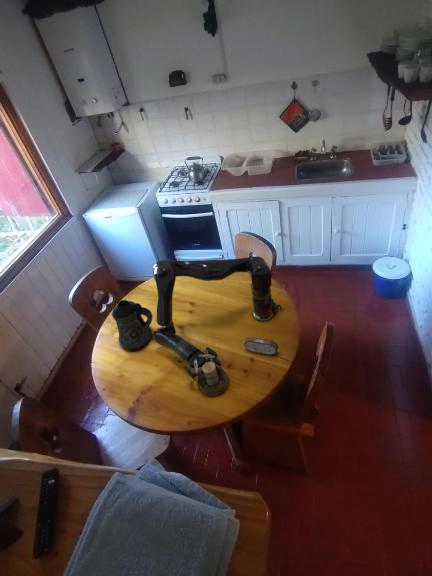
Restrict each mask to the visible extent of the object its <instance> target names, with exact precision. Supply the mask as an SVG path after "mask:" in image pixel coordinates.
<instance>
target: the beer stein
mask: <svg viewBox="0 0 432 576" xmlns="http://www.w3.org/2000/svg"><path fill="white" fill-rule="evenodd" d="M111 316H112V317H111V318H113V320H114V321H115V323H116V327H117V332H118V342H119V344H120V346H121V347H122V348H123V349H124V350H125V351H128V352H139V351H141V350H143V349H145V348H146V347H147V346H148V345H149V344H150V343H151V341H152V338H153V330H152V327H151V324H152V321H153V313H152V311H151V310H150V309H149V308H147V307H143V306H142V305H141V303H139V302H134V301H132V300H126V299H122V300H120V301H119V302H117V304H116V305H115V306H114V307H113V309H112V312H111ZM143 316H145V317H146V318H147V319H146V321H145V319H144V318H143Z"/></svg>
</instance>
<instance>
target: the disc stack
mask: <svg viewBox="0 0 432 576" xmlns="http://www.w3.org/2000/svg"><path fill="white" fill-rule="evenodd" d="M215 366H216V364H215V363H214V362H206V363H205V364H204V365H203V366H202V370H203V372H204V375H205V377H206V382H207V384H208V385H211V386H213V385H216V384H217V383H218V380H219V379H218V375H217V371H216V367H215Z"/></svg>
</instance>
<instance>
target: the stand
mask: <svg viewBox="0 0 432 576" xmlns="http://www.w3.org/2000/svg"><path fill="white" fill-rule="evenodd" d="M215 367H216V371H217V375H218V379H219V380H218V383H217V384H216V385H213V386H211V385H208V384H207V382H206V380H205V381H204V380H201V379H200V378H199V377H197V385H198V387H199V389H200V391H201V392H202V394H203V395H205V396H207V397H217V396H220V395H222V394H223V393H224V392H225V391H226V389H228V386H229V385H228V383H229V382H228V375H227V374H228V373H226V371H225V369H224V368H222V367H221V366H220V367H219V366H218V365H215ZM200 373H201V374H203V375H204V372H203V369H202V370H201V371H200ZM204 376H205V375H204Z"/></svg>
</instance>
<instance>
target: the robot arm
mask: <svg viewBox="0 0 432 576" xmlns="http://www.w3.org/2000/svg"><path fill="white" fill-rule="evenodd" d="M238 273H248V274H249V276H250V281H251V283H250V292H251V293H250V294H251V300H252V301H251V302H252V308H253V317H254V318H255V319H256V321H260V322H266V321H269V320H271V319H272V318H273V316H274V315H275V312H277V311H279V310H280V311H282V309H283V307H282V305H281V304H277V303H276V302H275V301H274V298H272V289H271V288H272V283H273V281H272V271H271V268H270V266H269V264H268V262H267V261H266V259H265V258H263V257H262V256H258V255H256V256H247V257H240V258H227V259H202V260H176V259H175V260H174V259H161V260H158V261H156V262H155V263H154V265H153V267H152V274H153V279H154V281H155V285H156V290H157V303H156V323H157V325H159V326H160V327H158V328H156V329H155V330H154V331H152V338H153V340H154V342H156V344H158V345H160V346H162V347H165V348H167V349H170V350H171V351H173V352H174V353H175V354H176V355H177V356H178V357H179V358H180V359H181V360H183V361H184V362H185V363H186V364H187V365H185V366H183V369H184V372H185V373H186V374H187V375H188V376H189V377H190V378H191V379H193V380H194V379H196V378H198V377H199V378H200V379H201V380H204V381H205V380H206V377H205V376H204V375H203V374H201V371H200V368H203V365H204V364H205V363H207V362H212V363H214V364H215V365H216V366H218V367H220V368H221V366H222V362H221V360H220V359H218V353H217V352H216V351H215V350H214V349H212V348H210V346H209V347H208V346H207V347H205V350H204V351H202V350H200V349H199V348H198V347H197V346H195V345H194V344H193V343H192V342H190V341H188V340H186V339H185V338H184V337H182V336H181V335H180V334H177V330H176V327H175V324H174V320H173V319H174V318H173V315H174V313H173V311H174V310H173V306H174V305H173V299H174V298H173V296H174V289H175V284H176V279H177V278H178V277H187V278H192V279H196V280H199V281H204V282H216V281H223V280H225V279H228V278H229V277H230V276H232V275H234V274H238ZM191 368H192V369H194V372H193V371H192V369H191Z"/></svg>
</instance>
